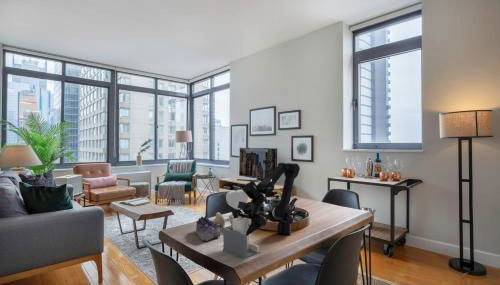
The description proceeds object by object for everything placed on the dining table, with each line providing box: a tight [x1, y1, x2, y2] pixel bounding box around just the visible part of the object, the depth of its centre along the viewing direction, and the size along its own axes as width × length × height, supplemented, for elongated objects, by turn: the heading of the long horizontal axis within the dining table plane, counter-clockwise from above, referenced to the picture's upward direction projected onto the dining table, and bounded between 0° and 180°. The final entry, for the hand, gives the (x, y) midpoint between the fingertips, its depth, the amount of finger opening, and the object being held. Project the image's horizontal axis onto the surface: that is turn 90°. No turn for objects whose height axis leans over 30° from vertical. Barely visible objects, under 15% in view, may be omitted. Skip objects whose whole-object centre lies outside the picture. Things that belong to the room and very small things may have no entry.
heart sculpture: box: [225, 189, 249, 220], centre depth 176 cm, size 16×5×18 cm, turn 125°
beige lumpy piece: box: [211, 211, 226, 227], centre depth 156 cm, size 11×9×9 cm
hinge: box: [228, 214, 234, 227], centre depth 152 cm, size 17×5×10 cm, turn 25°
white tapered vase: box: [231, 217, 250, 250], centre depth 122 cm, size 6×6×14 cm
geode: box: [195, 215, 221, 243], centre depth 143 cm, size 20×12×10 cm, turn 30°
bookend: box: [222, 227, 260, 260], centre depth 121 cm, size 10×14×10 cm
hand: (239, 232), depth 120 cm, fingers open, 9 cm apart
